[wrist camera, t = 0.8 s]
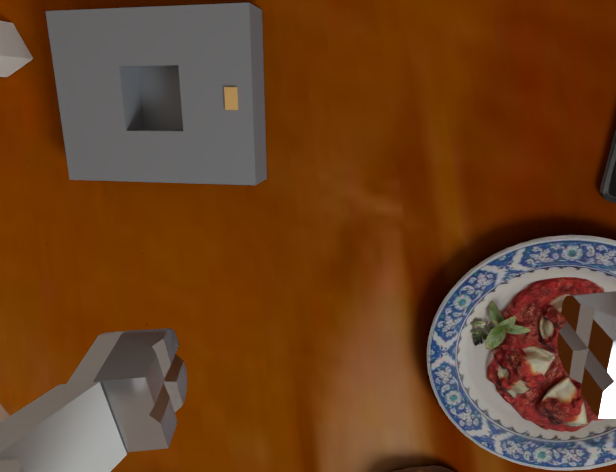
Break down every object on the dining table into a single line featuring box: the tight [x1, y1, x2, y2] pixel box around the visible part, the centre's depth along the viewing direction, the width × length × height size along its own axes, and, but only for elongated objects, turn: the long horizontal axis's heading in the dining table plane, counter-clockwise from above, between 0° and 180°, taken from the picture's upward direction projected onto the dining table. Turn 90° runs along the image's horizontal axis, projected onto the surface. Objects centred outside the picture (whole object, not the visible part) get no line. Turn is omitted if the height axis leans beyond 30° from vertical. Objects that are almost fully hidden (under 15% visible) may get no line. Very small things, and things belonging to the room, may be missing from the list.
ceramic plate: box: [427, 235, 616, 470], centre depth 48 cm, size 26×26×3 cm
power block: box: [45, 3, 267, 185], centre depth 48 cm, size 16×20×4 cm
